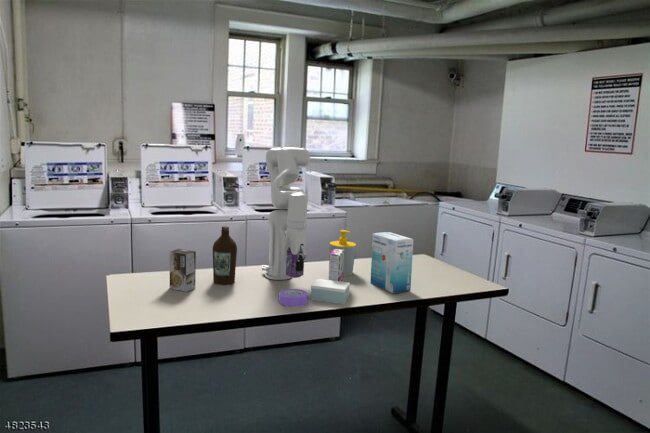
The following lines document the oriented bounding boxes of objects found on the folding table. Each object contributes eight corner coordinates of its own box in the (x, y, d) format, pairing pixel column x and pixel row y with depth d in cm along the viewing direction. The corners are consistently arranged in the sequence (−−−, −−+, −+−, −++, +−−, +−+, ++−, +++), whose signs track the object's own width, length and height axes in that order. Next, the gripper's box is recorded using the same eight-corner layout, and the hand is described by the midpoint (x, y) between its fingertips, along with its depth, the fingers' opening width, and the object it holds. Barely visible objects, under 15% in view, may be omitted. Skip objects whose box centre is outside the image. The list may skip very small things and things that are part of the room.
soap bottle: (354, 277, 246) (357, 234, 243) (327, 275, 246) (330, 232, 243) (353, 269, 259) (356, 228, 256) (328, 268, 259) (330, 227, 256)
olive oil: (215, 277, 233) (216, 223, 228) (238, 279, 232) (240, 225, 228) (208, 284, 222) (209, 228, 218) (232, 286, 222) (234, 229, 217)
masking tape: (275, 298, 210) (275, 289, 209) (301, 296, 214) (302, 287, 214) (284, 308, 199) (284, 298, 198) (311, 305, 204) (312, 296, 203)
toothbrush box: (368, 283, 237) (372, 232, 233) (386, 280, 243) (390, 231, 239) (392, 294, 222) (396, 240, 218) (410, 291, 228) (415, 239, 224)
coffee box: (196, 288, 216) (196, 251, 214) (186, 292, 210) (186, 254, 208) (179, 284, 220) (179, 248, 217) (168, 288, 214) (168, 250, 212)
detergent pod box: (310, 299, 210) (311, 285, 209) (316, 292, 220) (317, 278, 219) (343, 304, 207) (344, 289, 206) (348, 296, 216) (349, 282, 215)
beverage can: (285, 273, 208) (286, 244, 206) (302, 273, 208) (304, 245, 207) (285, 278, 201) (286, 248, 199) (303, 278, 202) (305, 249, 200)
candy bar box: (332, 283, 234) (334, 248, 231) (342, 284, 233) (344, 249, 230) (327, 290, 223) (329, 253, 221) (338, 291, 222) (340, 255, 220)
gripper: (278, 221, 207) (276, 264, 210) (298, 229, 192) (296, 275, 195) (295, 220, 211) (293, 262, 213) (315, 228, 196) (313, 273, 199)
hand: (294, 268), depth 204 cm, fingers closed on beverage can, 7 cm apart
